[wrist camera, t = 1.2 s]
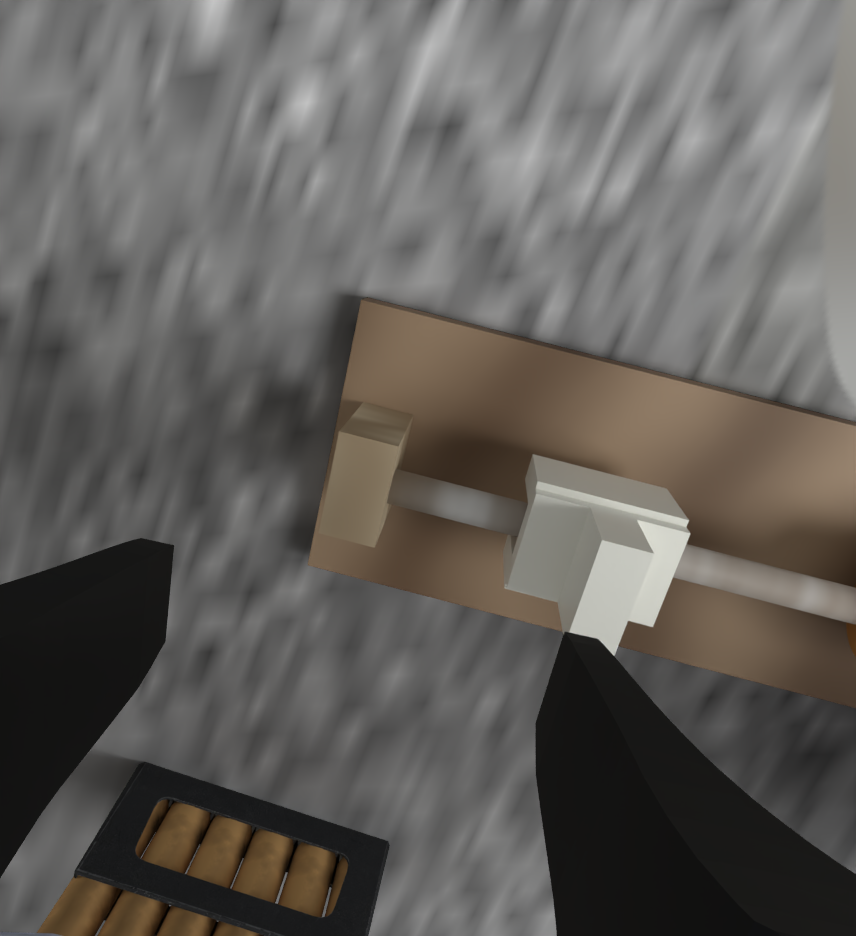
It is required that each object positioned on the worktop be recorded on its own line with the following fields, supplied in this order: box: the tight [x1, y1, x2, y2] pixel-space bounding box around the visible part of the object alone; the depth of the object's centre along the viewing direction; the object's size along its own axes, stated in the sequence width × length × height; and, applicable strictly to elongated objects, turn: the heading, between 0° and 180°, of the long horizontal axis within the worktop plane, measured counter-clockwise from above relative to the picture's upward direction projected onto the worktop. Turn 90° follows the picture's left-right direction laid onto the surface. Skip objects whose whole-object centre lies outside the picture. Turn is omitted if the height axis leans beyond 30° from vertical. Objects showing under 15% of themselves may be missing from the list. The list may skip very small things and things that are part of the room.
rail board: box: [308, 297, 856, 708], centre depth 20 cm, size 24×9×5 cm, turn 77°
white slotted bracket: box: [503, 454, 691, 656], centre depth 18 cm, size 4×3×5 cm
